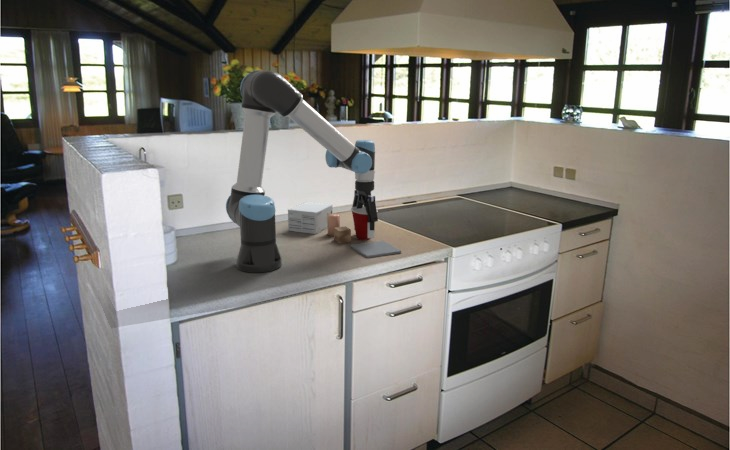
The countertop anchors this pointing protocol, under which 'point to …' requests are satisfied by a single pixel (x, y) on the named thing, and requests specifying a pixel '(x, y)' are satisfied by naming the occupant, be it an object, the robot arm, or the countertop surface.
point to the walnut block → (342, 234)
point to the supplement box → (309, 217)
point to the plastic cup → (360, 222)
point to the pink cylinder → (333, 223)
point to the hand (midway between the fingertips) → (364, 233)
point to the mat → (375, 249)
